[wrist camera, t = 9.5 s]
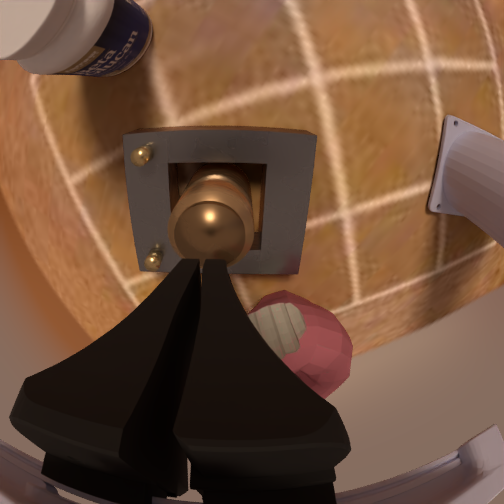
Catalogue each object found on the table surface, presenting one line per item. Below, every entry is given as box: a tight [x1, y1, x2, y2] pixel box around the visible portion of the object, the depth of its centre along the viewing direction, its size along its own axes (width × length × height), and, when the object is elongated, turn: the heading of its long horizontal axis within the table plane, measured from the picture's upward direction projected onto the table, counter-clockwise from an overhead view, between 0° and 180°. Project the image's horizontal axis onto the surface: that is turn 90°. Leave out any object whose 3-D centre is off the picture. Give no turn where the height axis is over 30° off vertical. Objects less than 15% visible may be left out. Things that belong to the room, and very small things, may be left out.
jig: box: [123, 126, 317, 274], centre depth 16 cm, size 11×9×4 cm
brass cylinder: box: [167, 162, 254, 268], centre depth 15 cm, size 4×4×6 cm
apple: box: [248, 290, 353, 399], centre depth 19 cm, size 10×9×10 cm
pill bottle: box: [0, 0, 152, 77], centre depth 8 cm, size 5×5×10 cm
